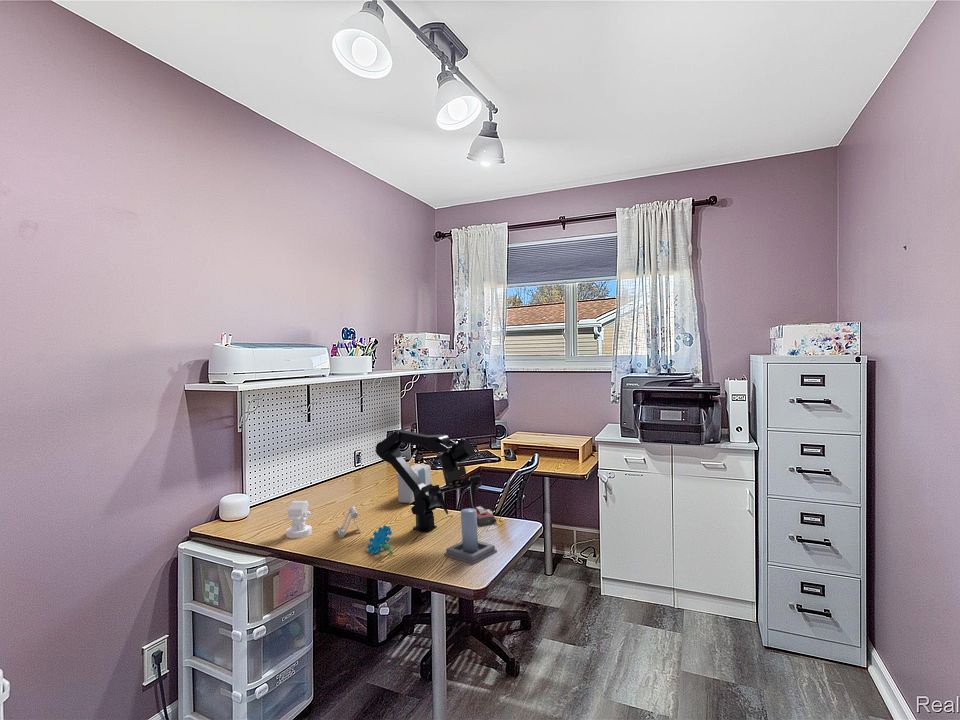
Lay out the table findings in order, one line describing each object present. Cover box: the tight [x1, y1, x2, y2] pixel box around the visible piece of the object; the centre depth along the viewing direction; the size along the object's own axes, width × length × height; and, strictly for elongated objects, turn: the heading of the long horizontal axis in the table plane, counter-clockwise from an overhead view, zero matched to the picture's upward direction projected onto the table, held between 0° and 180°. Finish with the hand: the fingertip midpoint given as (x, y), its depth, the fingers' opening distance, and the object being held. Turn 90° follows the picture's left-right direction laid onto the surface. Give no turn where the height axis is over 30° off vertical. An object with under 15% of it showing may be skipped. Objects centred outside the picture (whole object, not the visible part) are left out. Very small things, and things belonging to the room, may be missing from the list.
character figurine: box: [285, 500, 313, 539], centre depth 178 cm, size 9×10×12 cm
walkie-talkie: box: [474, 505, 497, 526], centre depth 192 cm, size 9×4×20 cm
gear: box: [366, 524, 394, 555], centre depth 161 cm, size 11×6×10 cm
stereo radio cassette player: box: [395, 449, 432, 504], centre depth 222 cm, size 21×8×20 cm, turn 162°
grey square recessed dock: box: [443, 540, 498, 565], centre depth 157 cm, size 12×12×2 cm
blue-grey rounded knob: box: [460, 507, 479, 554], centre depth 157 cm, size 5×5×13 cm
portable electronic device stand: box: [336, 505, 362, 539], centre depth 179 cm, size 9×8×8 cm
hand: (460, 510), depth 166 cm, fingers open, 9 cm apart
